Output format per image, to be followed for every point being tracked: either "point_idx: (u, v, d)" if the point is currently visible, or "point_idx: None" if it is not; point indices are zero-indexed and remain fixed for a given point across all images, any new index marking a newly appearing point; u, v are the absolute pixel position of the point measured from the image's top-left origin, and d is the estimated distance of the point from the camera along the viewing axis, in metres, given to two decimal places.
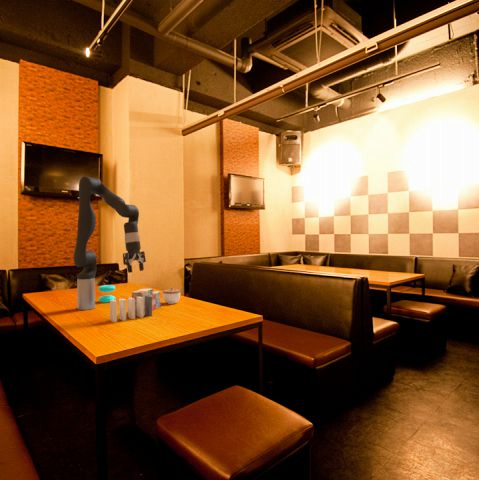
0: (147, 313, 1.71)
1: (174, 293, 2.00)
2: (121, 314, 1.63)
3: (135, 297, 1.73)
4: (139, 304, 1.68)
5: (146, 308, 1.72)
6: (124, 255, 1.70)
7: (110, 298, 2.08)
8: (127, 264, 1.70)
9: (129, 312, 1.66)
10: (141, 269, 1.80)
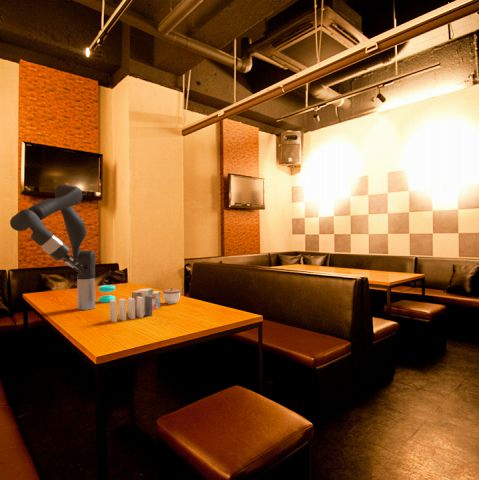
0: (147, 313, 1.71)
1: (174, 293, 2.00)
2: (121, 314, 1.63)
3: (135, 297, 1.73)
4: (139, 304, 1.68)
5: (146, 308, 1.72)
6: None
7: (110, 298, 2.08)
8: None
9: (129, 312, 1.66)
10: None
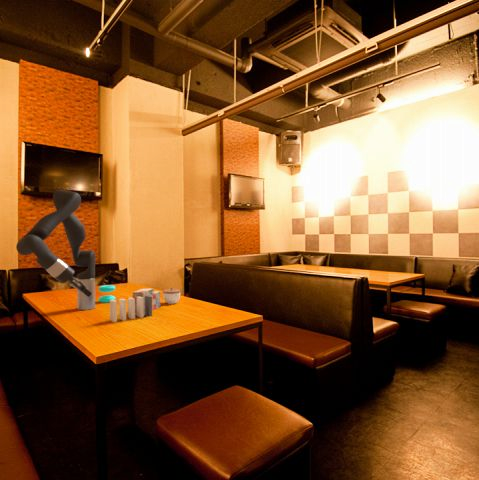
0: (147, 313, 1.71)
1: (174, 293, 2.00)
2: (121, 314, 1.63)
3: (136, 297, 1.73)
4: (139, 304, 1.68)
5: (146, 308, 1.72)
6: None
7: (110, 298, 2.08)
8: None
9: (129, 312, 1.66)
10: None
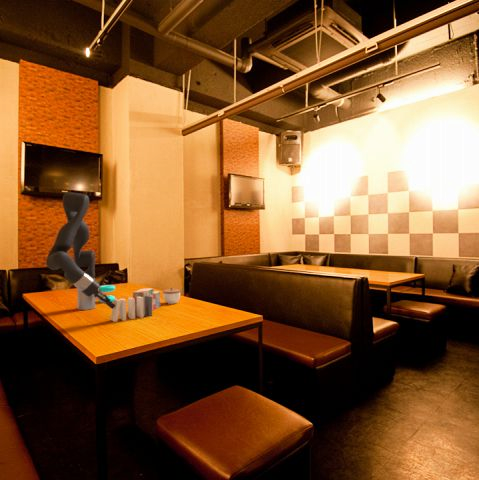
0: (147, 313, 1.71)
1: (174, 293, 2.00)
2: (121, 314, 1.63)
3: (136, 297, 1.73)
4: (139, 304, 1.68)
5: (146, 308, 1.72)
6: None
7: (110, 298, 2.08)
8: (104, 301, 1.60)
9: (129, 312, 1.66)
10: None
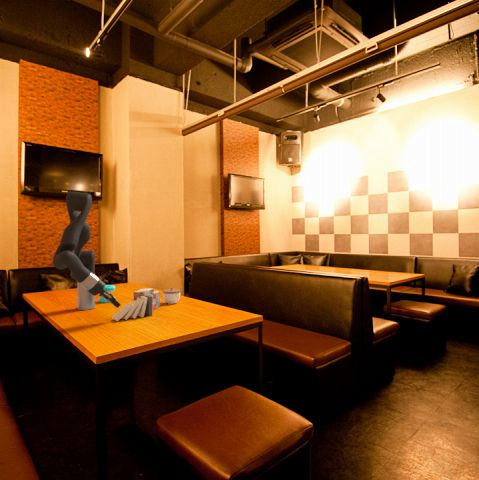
0: (147, 313, 1.71)
1: (174, 293, 2.00)
2: None
3: (137, 297, 1.73)
4: None
5: (146, 308, 1.72)
6: None
7: None
8: (109, 301, 1.62)
9: None
10: None
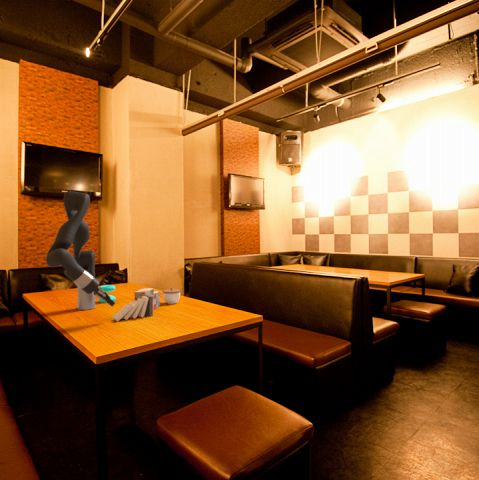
0: (148, 313, 1.71)
1: (174, 293, 2.00)
2: None
3: (138, 297, 1.73)
4: (143, 303, 1.69)
5: (147, 308, 1.72)
6: None
7: (110, 298, 2.08)
8: None
9: None
10: None
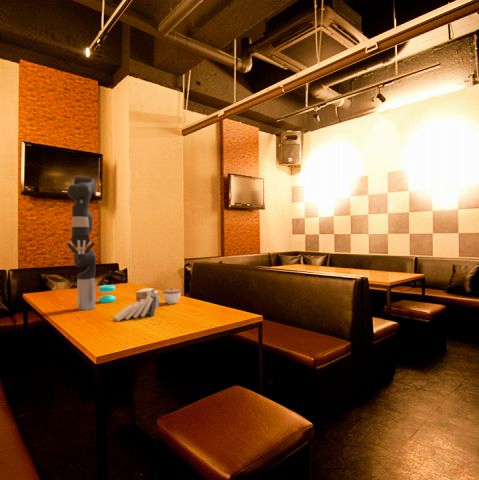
0: (150, 312, 1.71)
1: (174, 293, 2.00)
2: None
3: (140, 297, 1.73)
4: None
5: (150, 307, 1.72)
6: None
7: (110, 298, 2.08)
8: (75, 253, 1.58)
9: None
10: None
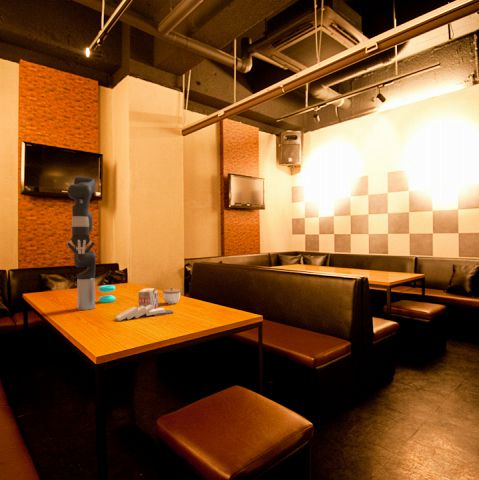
0: None
1: (174, 293, 2.00)
2: None
3: (142, 297, 1.74)
4: (158, 309, 1.72)
5: None
6: (68, 245, 1.57)
7: (110, 298, 2.08)
8: (75, 253, 1.58)
9: None
10: None
